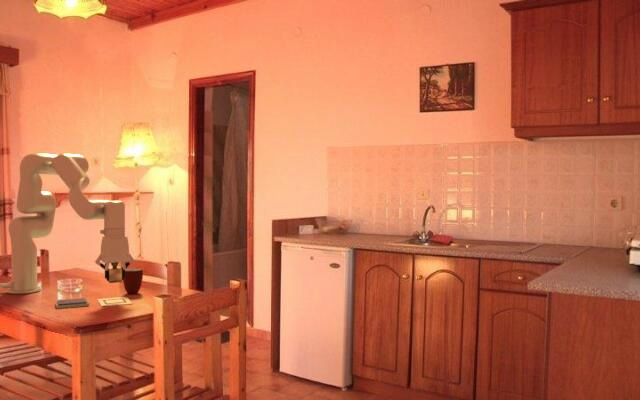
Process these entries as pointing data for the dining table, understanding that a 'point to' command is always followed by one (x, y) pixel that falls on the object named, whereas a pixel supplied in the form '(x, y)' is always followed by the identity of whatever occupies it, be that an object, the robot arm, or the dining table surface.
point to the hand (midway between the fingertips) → (114, 279)
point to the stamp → (115, 273)
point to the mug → (133, 280)
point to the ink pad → (71, 303)
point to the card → (114, 301)
